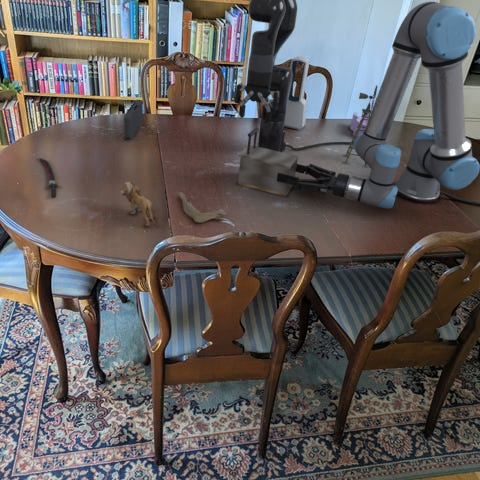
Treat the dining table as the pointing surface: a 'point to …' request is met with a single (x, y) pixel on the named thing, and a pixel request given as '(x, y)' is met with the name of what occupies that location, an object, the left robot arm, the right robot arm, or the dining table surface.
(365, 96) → the miniature windmill
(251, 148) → the panel with bar handle
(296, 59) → the electronic device
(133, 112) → the handheld gaming console
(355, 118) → the clip
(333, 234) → the dining table surface
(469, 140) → the right robot arm
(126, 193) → the lion figurine
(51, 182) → the sword
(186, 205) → the jawbone
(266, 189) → the chest
